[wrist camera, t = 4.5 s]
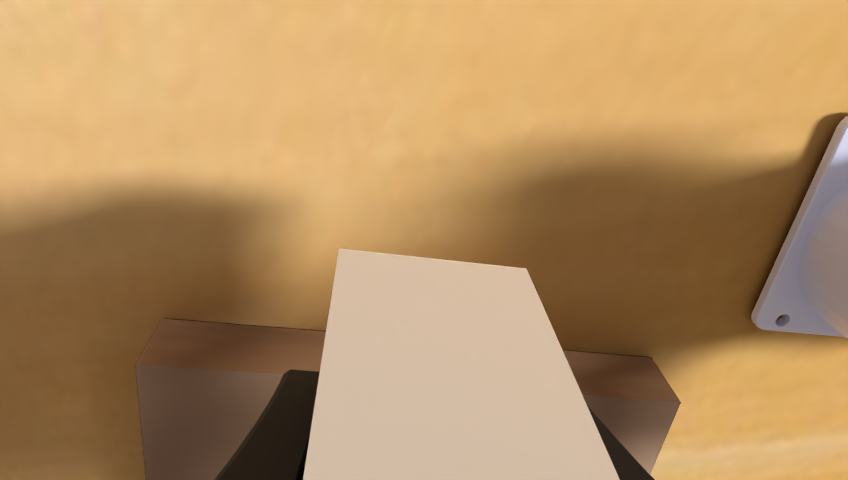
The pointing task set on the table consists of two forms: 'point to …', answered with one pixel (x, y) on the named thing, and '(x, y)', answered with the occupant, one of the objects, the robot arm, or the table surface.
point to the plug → (445, 378)
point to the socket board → (302, 350)
